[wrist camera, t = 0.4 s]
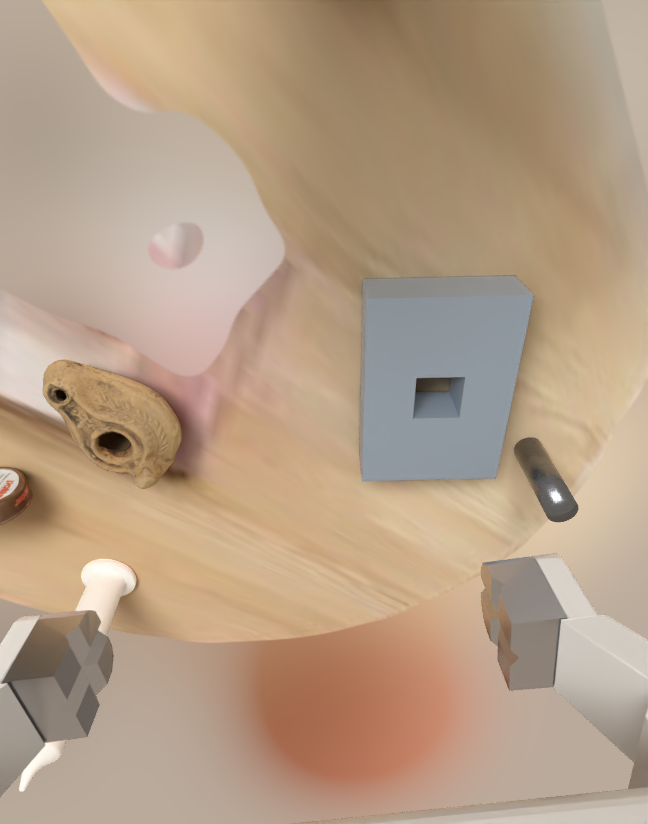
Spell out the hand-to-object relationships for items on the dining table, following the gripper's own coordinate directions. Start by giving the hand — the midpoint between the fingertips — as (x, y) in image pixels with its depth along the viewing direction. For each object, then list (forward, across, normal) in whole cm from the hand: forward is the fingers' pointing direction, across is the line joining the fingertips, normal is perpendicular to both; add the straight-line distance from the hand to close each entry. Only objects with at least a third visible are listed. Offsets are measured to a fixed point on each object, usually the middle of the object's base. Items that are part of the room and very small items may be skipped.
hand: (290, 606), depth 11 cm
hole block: (+41, -11, +13) cm, 45 cm away
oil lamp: (+43, +21, +13) cm, 49 cm away
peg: (+42, -22, +25) cm, 53 cm away
